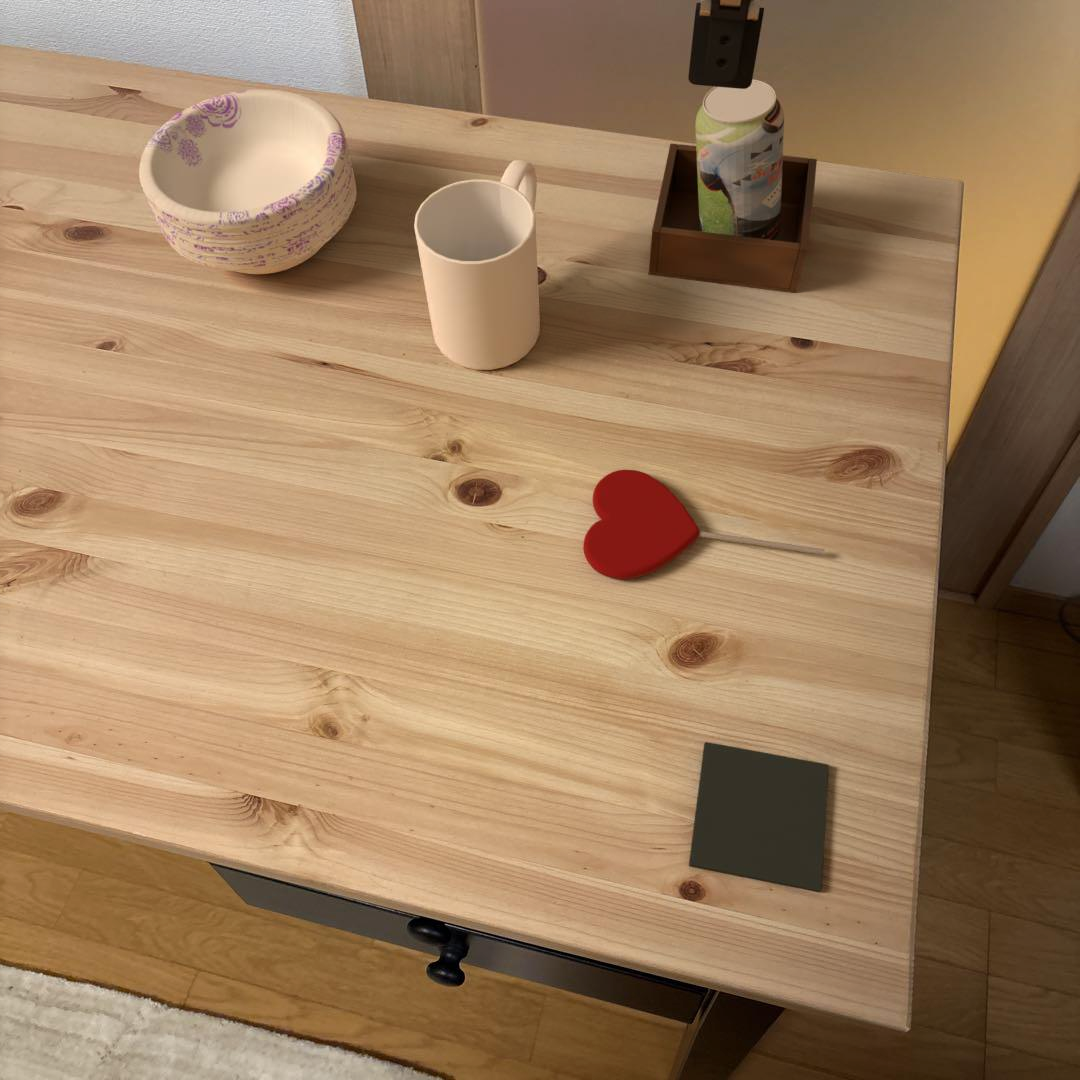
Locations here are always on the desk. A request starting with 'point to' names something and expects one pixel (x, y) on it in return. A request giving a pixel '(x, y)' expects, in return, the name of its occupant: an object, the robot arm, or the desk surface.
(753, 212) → the beverage can
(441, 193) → the mug
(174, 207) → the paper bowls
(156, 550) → the desk surface
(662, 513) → the lollipop
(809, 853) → the coaster
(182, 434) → the desk surface
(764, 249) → the wooden box
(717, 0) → the robot arm
